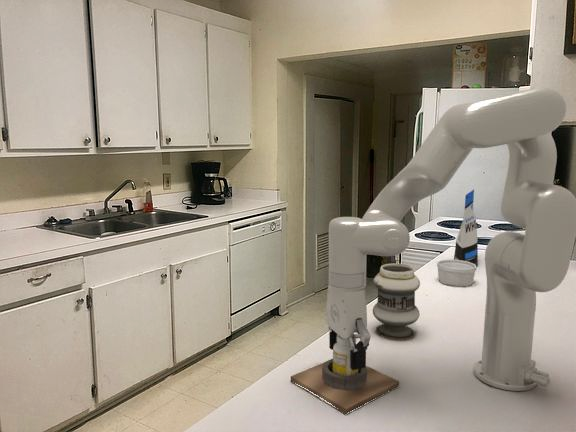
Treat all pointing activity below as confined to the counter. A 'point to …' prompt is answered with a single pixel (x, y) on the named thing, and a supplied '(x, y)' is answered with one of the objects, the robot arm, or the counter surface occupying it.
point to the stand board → (349, 395)
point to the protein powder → (467, 234)
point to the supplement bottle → (342, 357)
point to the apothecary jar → (396, 301)
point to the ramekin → (456, 272)
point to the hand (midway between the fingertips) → (346, 357)
